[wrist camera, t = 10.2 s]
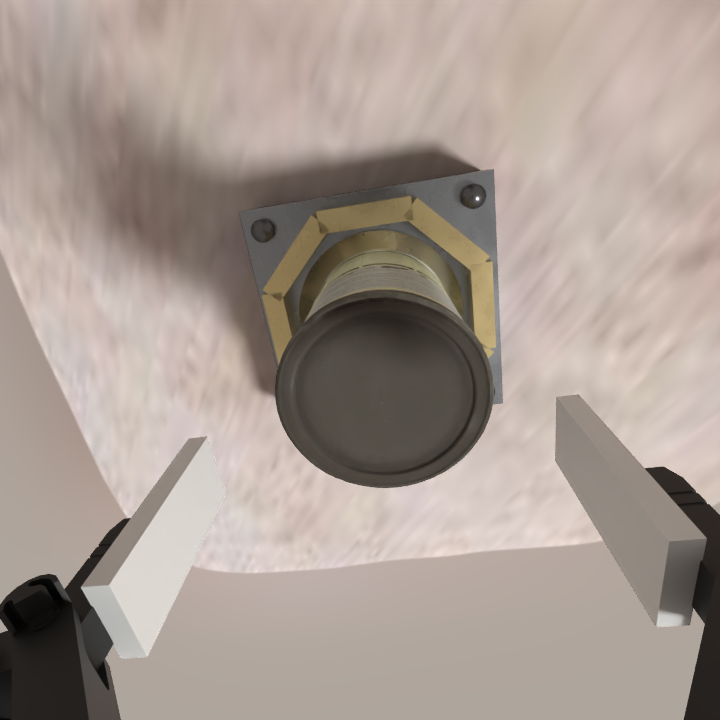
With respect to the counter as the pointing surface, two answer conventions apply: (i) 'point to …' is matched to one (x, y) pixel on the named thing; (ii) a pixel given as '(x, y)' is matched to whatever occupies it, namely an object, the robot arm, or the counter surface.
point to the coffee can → (384, 375)
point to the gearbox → (382, 231)
